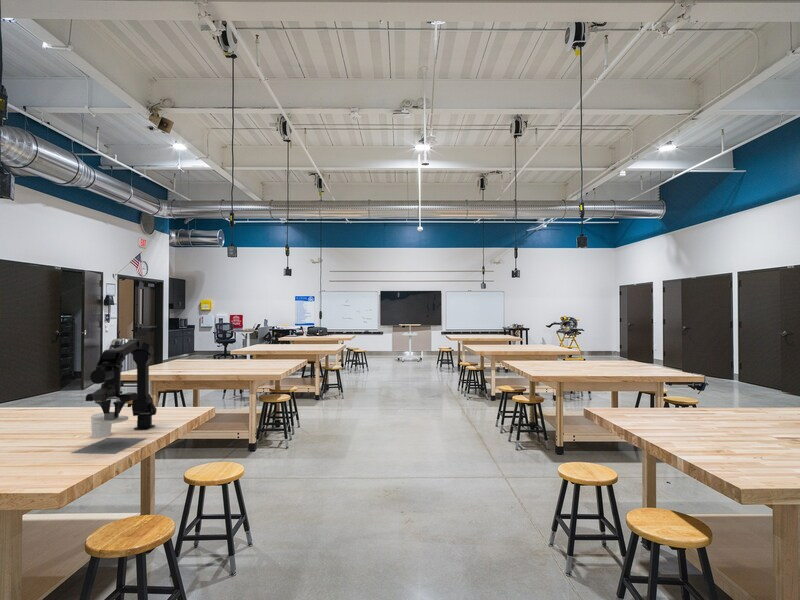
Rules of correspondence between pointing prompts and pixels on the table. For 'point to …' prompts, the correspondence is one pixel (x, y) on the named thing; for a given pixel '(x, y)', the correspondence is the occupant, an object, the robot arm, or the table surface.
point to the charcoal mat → (110, 445)
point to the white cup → (100, 427)
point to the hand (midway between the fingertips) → (111, 417)
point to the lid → (110, 419)
